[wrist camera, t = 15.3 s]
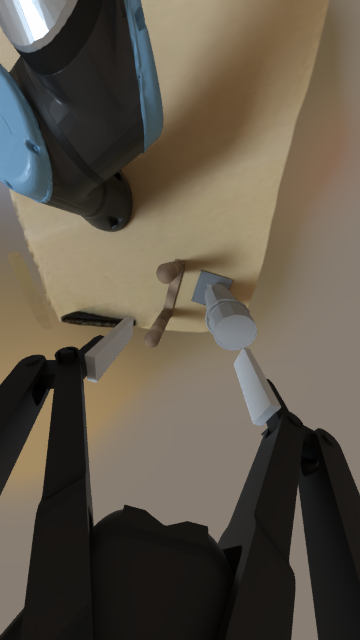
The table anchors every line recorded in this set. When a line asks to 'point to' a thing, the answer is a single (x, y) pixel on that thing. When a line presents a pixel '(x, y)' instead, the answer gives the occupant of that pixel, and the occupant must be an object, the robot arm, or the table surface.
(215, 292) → the water bottle
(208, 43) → the table surface
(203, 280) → the pad
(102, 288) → the table surface
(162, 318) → the gate
